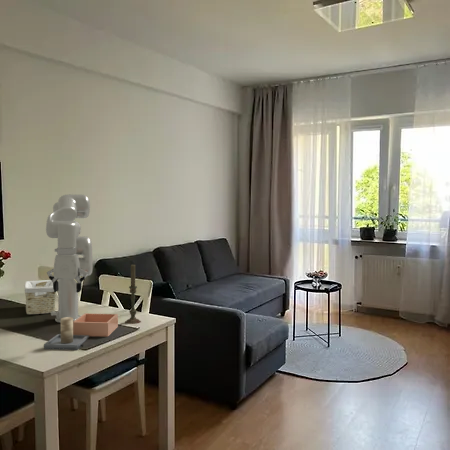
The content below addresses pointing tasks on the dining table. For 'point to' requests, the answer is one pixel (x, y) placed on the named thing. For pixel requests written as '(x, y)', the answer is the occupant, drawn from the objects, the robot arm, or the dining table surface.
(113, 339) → the dining table surface
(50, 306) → the storage basket
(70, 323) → the birch peg
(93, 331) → the pink open storage bin
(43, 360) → the dining table surface
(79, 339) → the grey tray
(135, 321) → the candlestick holder
